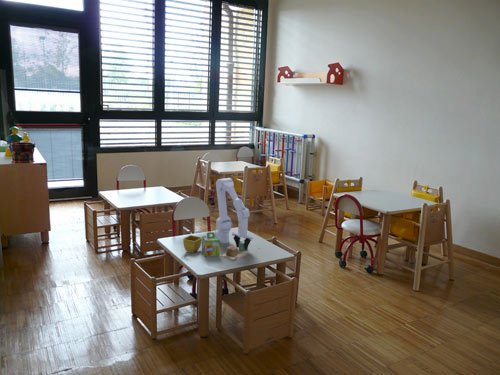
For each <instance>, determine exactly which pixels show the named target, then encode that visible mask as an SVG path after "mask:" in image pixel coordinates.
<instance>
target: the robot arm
mask: <svg viewBox="0 0 500 375" xmlns="http://www.w3.org/2000/svg"><path fill="white" fill-rule="evenodd" d="M234 184H235V183H234V181H233V179H232V178H231V177H227V178H226V177H225V178H218V179H217V180H216V181H215V190H216V197H217V205H218V206H217V207H218V215H219V217H218V218H217V219H216V220H215V222H216V223H215V229H216V230H215V231H214V235H215V236H216V237H218V239H219V240H220V244H228V243H230V231H231V229H232V228H233V222H232V220H231V217H230V216H228V208H227V199H226V192H227V193H228V194H229V196H230V198H231V199H232V204H233V207H234V209H235V210H236V212H237V213H236V216H237V221H238V227H237V228H238V229H237V232H236V231H232V233H231V236H233V237H232V238H233V240H234V242H235V246H236V247H238V248H239V242H240V241H241V239H242V238H243V239H244V240H243V241H244V242H245V250H247V249H249V245H250V243H251V241H253V240H254V236H253V235H250V234H248V223H249V222H248V221H249V218H250V216H251V211H250V209H249V208H248V207H246V206H245V204H244V203H243V201H242V199H241V198H239V196H238V194H237V191H236V189H235V186H234ZM247 251H248V250H247Z"/></svg>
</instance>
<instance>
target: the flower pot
mask: <svg viewBox="0 0 500 375" xmlns="http://www.w3.org/2000/svg"><path fill="white" fill-rule="evenodd" d="M182 242H183V243H182V244H183V248H184V250H185V252H187V253H190V254H195V253H197V252H198V251H199V250H200V249H201V248H200V247H202V237H201V236H197V235H192V234H190V235H188V236H185V237H184V238H182Z"/></svg>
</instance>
